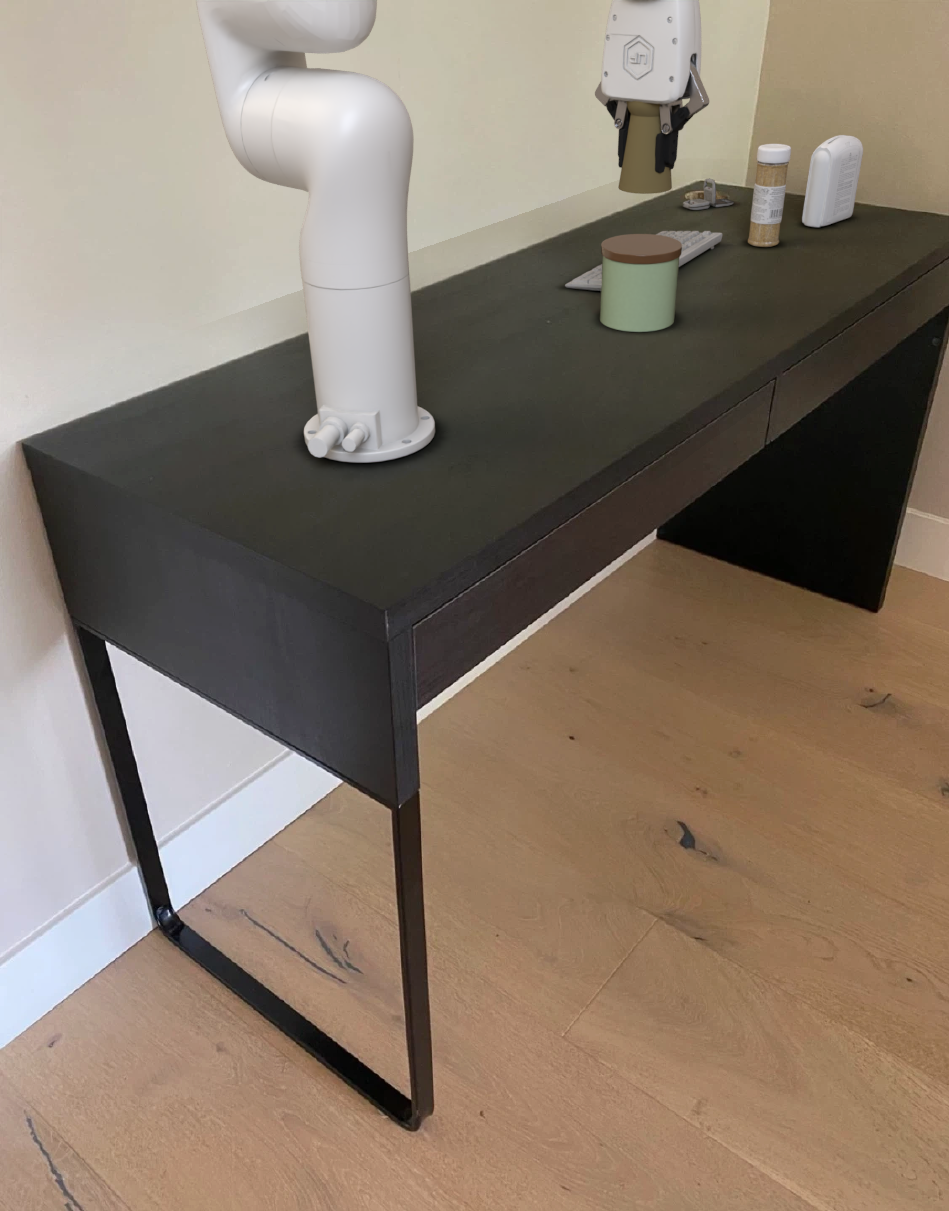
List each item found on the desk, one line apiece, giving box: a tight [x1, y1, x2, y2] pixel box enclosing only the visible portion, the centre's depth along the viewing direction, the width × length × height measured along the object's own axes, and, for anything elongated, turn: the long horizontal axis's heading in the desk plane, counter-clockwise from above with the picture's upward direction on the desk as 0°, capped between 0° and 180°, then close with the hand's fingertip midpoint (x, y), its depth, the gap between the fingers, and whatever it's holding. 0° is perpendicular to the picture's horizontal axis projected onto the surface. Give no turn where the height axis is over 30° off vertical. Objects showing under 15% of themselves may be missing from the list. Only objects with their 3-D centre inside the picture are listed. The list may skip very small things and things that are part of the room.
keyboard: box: [564, 230, 723, 292], centre depth 145 cm, size 29×10×2 cm, turn 147°
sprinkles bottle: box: [747, 143, 792, 248], centre depth 149 cm, size 5×5×14 cm
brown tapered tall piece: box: [617, 101, 673, 195], centre depth 115 cm, size 6×6×11 cm
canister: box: [599, 233, 682, 333], centre depth 124 cm, size 9×9×9 cm
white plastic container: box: [801, 134, 864, 228], centre depth 159 cm, size 10×4×12 cm, turn 134°
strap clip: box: [682, 178, 735, 211], centre depth 172 cm, size 8×3×4 cm, turn 113°
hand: (646, 166), depth 117 cm, fingers closed on brown tapered tall piece, 4 cm apart
